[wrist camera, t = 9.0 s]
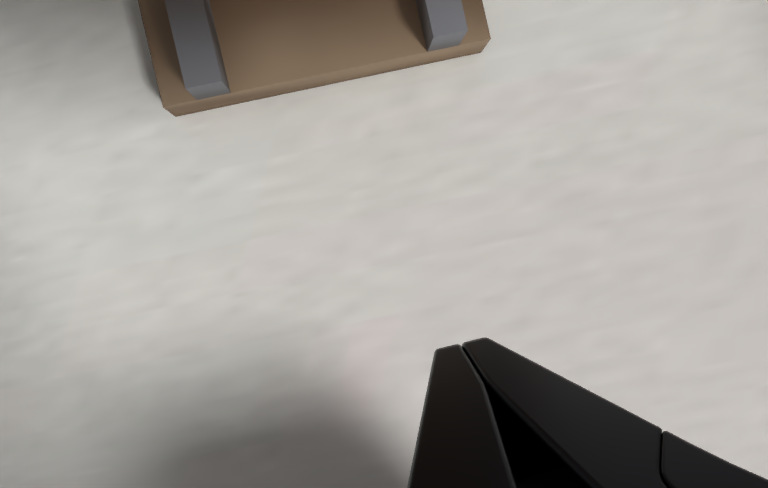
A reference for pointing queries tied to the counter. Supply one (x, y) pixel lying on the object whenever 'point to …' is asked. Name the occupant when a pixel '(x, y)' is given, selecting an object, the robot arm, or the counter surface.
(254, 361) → the counter surface
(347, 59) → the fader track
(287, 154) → the counter surface
